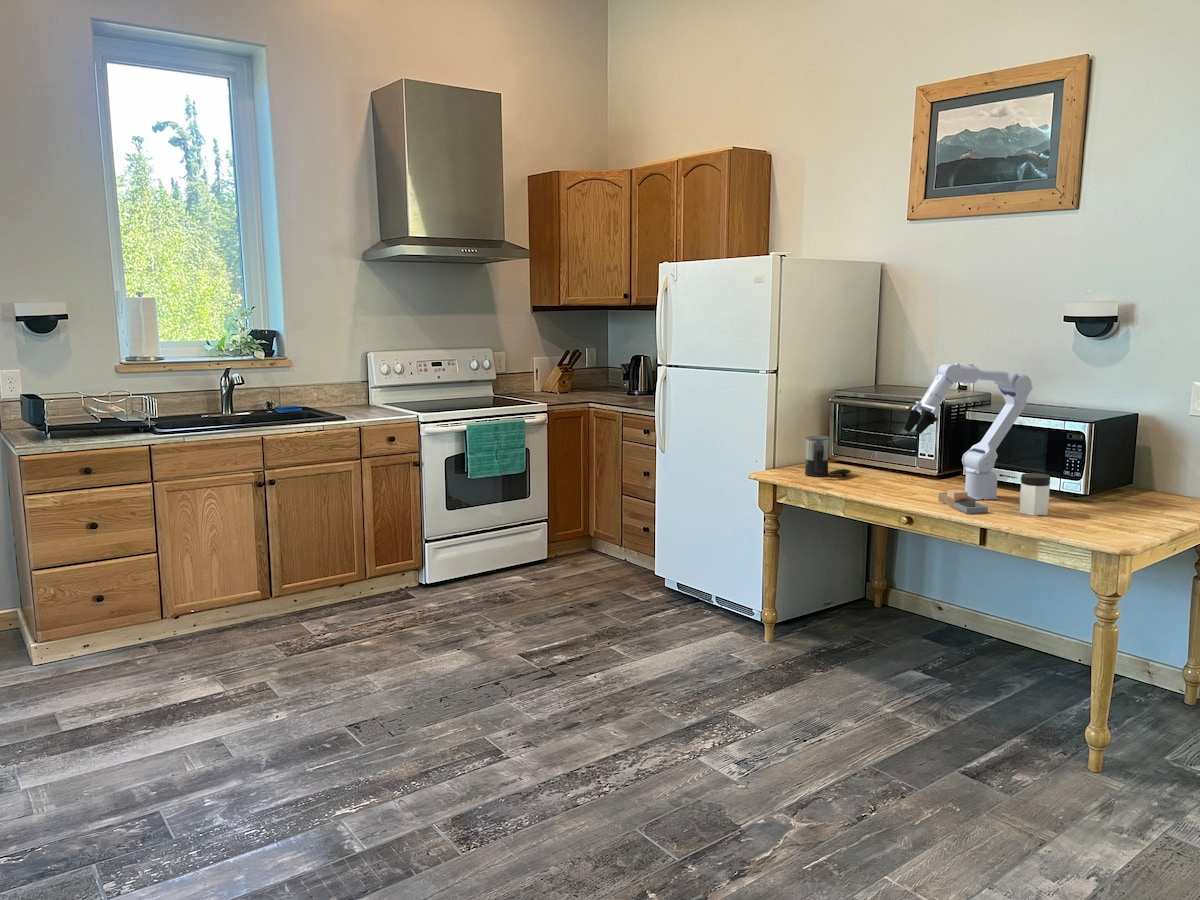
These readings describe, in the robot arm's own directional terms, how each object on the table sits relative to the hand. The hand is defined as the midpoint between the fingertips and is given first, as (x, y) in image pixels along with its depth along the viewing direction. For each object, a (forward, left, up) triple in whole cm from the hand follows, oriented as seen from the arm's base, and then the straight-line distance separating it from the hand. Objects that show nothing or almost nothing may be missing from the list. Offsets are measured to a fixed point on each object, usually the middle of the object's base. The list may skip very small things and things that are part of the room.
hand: (911, 431), depth 284 cm
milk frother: (+10, -49, -24) cm, 56 cm away
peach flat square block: (-13, +7, -21) cm, 26 cm away
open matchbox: (-14, +5, -24) cm, 28 cm away
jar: (-31, +20, -24) cm, 44 cm away
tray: (-14, +14, -24) cm, 31 cm away
